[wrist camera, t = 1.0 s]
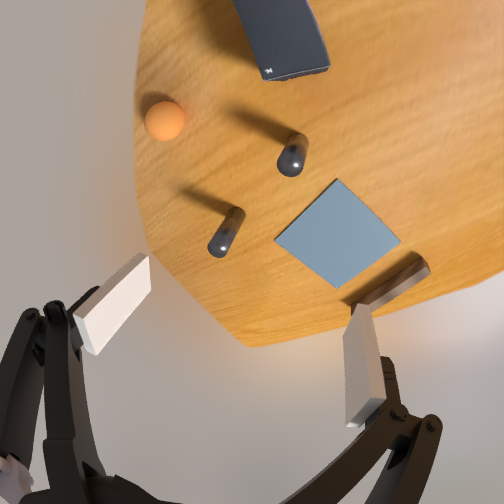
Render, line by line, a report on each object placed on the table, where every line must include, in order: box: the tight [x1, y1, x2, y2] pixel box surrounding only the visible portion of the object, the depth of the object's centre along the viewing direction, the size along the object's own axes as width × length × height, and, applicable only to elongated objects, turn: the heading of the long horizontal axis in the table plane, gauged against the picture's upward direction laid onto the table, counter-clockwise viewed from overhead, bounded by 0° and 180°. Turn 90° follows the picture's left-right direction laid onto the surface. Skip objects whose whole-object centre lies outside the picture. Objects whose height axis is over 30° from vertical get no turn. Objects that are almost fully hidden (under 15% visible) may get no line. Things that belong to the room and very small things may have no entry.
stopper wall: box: [351, 257, 431, 316], centre depth 41 cm, size 16×2×2 cm, turn 145°
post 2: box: [277, 133, 309, 177], centre depth 29 cm, size 3×3×9 cm
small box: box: [232, 0, 331, 82], centre depth 20 cm, size 11×6×10 cm, turn 19°
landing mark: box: [274, 179, 401, 289], centre depth 39 cm, size 14×14×1 cm
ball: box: [144, 101, 185, 141], centre depth 32 cm, size 6×6×6 cm
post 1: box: [207, 207, 246, 258], centre depth 38 cm, size 3×3×9 cm
